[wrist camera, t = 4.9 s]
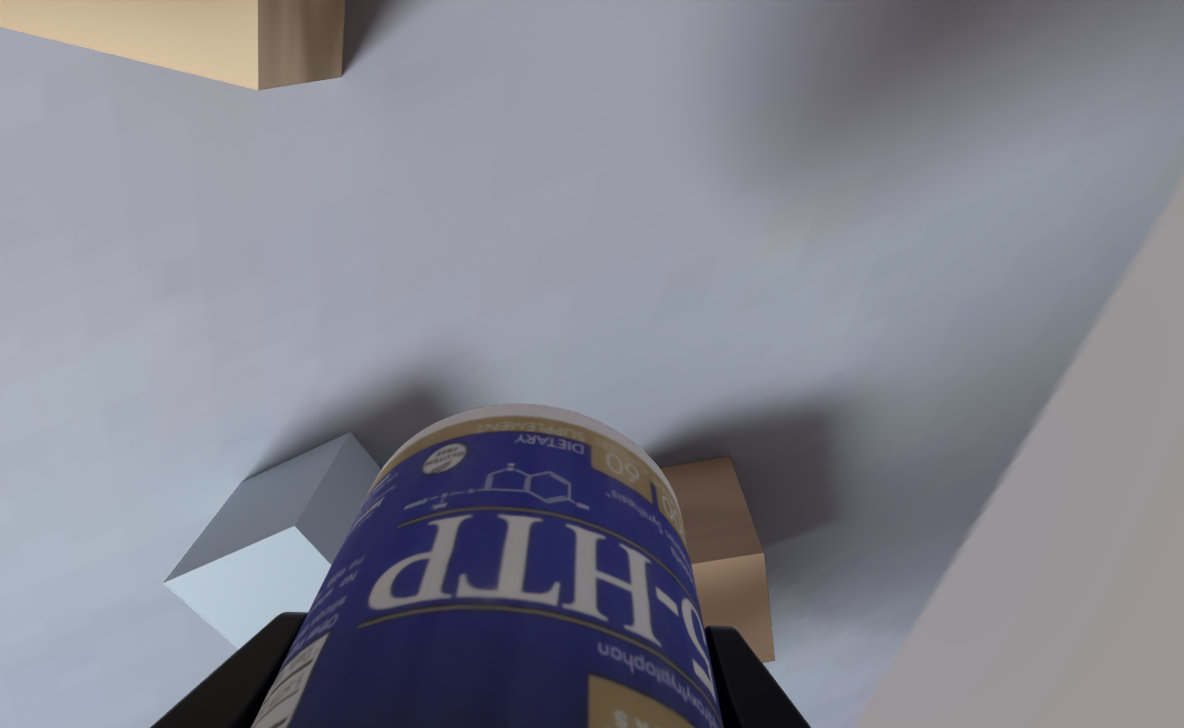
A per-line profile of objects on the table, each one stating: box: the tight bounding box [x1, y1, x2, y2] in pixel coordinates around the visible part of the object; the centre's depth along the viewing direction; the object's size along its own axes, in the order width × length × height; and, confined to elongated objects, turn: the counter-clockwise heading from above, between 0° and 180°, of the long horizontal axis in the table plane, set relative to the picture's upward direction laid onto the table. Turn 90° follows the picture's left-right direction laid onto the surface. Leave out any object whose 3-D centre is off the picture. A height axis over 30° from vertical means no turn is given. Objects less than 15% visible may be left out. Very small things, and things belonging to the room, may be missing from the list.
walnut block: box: [660, 456, 775, 663], centre depth 22 cm, size 5×5×5 cm
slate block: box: [163, 432, 381, 650], centre depth 22 cm, size 5×5×5 cm
